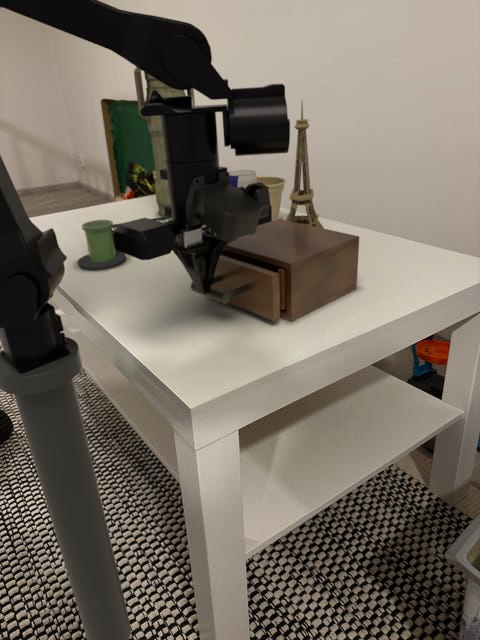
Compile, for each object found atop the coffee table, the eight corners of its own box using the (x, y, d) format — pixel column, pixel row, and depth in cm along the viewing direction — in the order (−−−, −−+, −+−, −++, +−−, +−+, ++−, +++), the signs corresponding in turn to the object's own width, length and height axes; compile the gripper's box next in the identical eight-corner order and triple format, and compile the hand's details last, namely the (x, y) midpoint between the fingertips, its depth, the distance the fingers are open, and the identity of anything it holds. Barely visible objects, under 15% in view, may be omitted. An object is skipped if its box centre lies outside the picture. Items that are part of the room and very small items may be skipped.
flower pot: (291, 219, 105) (291, 176, 101) (279, 232, 97) (279, 186, 93) (248, 217, 108) (246, 175, 104) (233, 230, 100) (230, 185, 96)
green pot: (97, 265, 84) (90, 229, 81) (82, 259, 87) (76, 224, 84) (123, 257, 86) (118, 222, 84) (108, 251, 90) (103, 218, 87)
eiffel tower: (274, 241, 92) (271, 90, 81) (334, 242, 90) (339, 87, 79) (266, 261, 83) (261, 93, 72) (332, 263, 81) (337, 90, 70)
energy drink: (225, 242, 93) (221, 175, 88) (236, 233, 98) (233, 169, 92) (252, 244, 91) (250, 176, 86) (263, 235, 96) (261, 170, 90)
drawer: (245, 334, 59) (242, 288, 56) (175, 303, 68) (171, 261, 65) (337, 289, 69) (338, 248, 66) (266, 267, 78) (265, 230, 75)
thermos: (145, 214, 115) (121, 36, 99) (190, 204, 120) (175, 35, 105) (163, 221, 108) (141, 33, 92) (210, 211, 114) (197, 32, 98)
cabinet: (291, 321, 63) (291, 263, 60) (215, 291, 73) (210, 240, 69) (356, 288, 71) (359, 236, 68) (279, 265, 81) (279, 218, 77)
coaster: (92, 274, 82) (92, 270, 81) (69, 263, 87) (69, 259, 87) (135, 260, 86) (134, 257, 86) (111, 251, 92) (110, 248, 92)
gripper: (163, 182, 43) (182, 342, 50) (307, 152, 55) (306, 286, 61) (99, 170, 51) (123, 310, 58) (237, 145, 62) (243, 266, 69)
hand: (204, 292), depth 61 cm, fingers closed
